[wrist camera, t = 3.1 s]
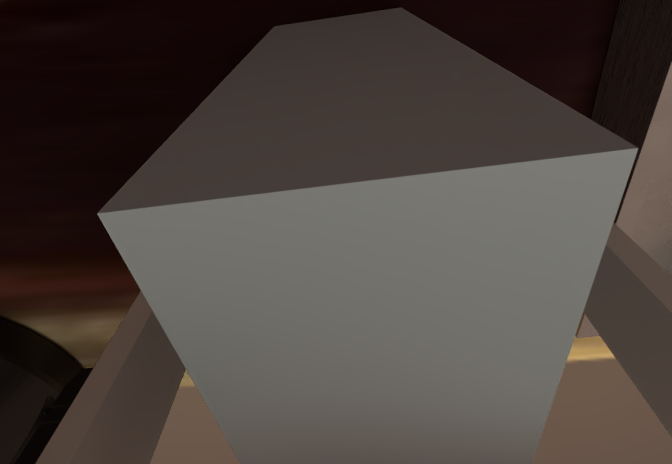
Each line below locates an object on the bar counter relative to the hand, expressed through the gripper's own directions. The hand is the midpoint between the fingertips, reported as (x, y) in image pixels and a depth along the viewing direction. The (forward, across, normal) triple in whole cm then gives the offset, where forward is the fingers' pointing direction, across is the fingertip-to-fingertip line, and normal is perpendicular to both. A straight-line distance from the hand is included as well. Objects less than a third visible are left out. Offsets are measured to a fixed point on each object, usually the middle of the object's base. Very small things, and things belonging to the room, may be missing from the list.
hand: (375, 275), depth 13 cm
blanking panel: (+7, 0, 0) cm, 7 cm away
